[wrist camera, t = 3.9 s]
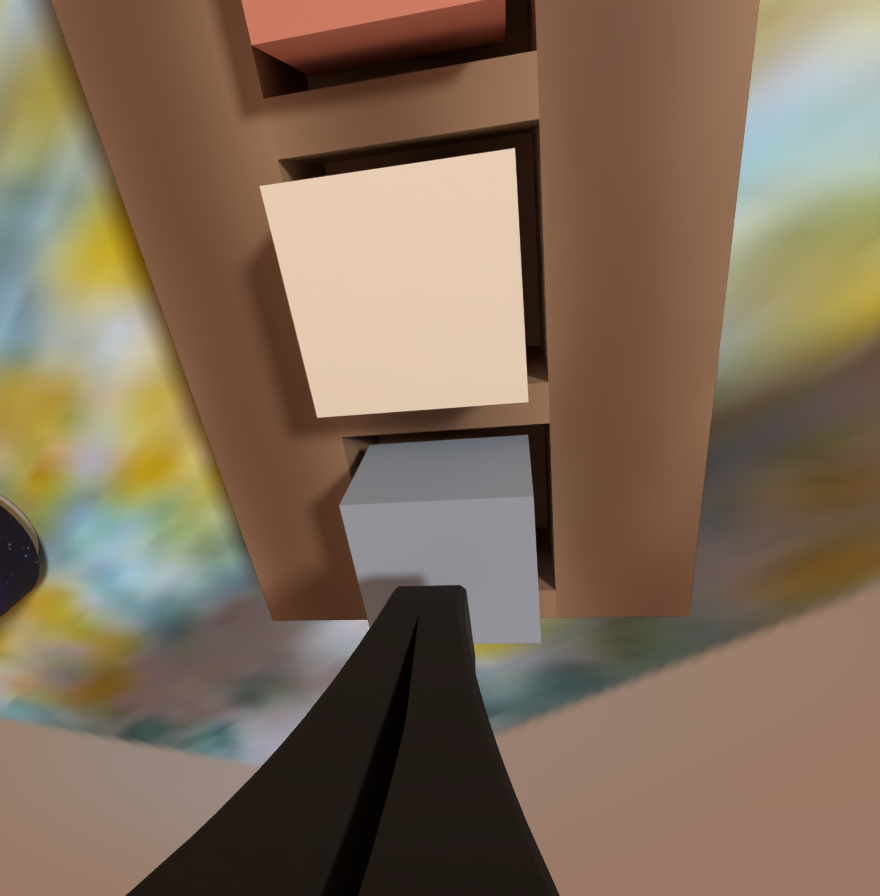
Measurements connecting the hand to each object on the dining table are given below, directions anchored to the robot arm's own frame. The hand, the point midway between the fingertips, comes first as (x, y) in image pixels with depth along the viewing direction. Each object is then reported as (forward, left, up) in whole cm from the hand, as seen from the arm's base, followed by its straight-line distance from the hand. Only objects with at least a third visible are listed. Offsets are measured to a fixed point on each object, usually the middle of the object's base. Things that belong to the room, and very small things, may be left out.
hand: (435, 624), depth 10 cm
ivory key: (0, -6, -4) cm, 7 cm away
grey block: (0, 0, -4) cm, 4 cm away
